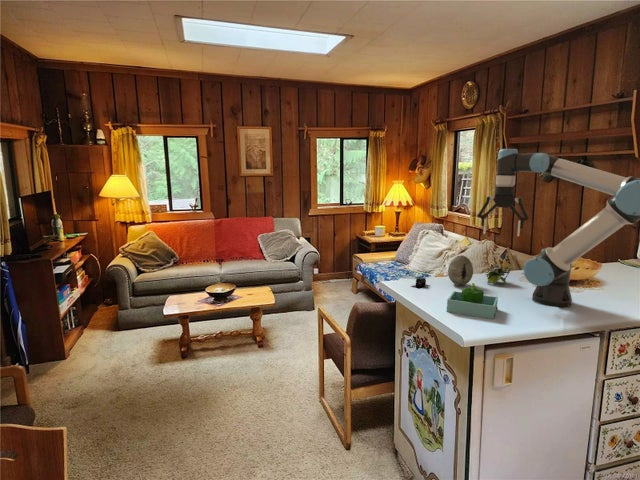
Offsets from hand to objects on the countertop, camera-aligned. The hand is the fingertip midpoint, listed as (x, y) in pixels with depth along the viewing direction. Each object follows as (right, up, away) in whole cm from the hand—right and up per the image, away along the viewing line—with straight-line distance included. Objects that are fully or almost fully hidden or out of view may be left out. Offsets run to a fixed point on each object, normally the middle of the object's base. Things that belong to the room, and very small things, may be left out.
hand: (501, 234), depth 180 cm
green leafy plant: (+11, -25, +29) cm, 39 cm away
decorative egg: (-10, -25, +25) cm, 37 cm away
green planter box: (-18, -30, -15) cm, 39 cm away
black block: (-30, -26, +23) cm, 45 cm away
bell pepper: (-19, -30, -16) cm, 38 cm away
